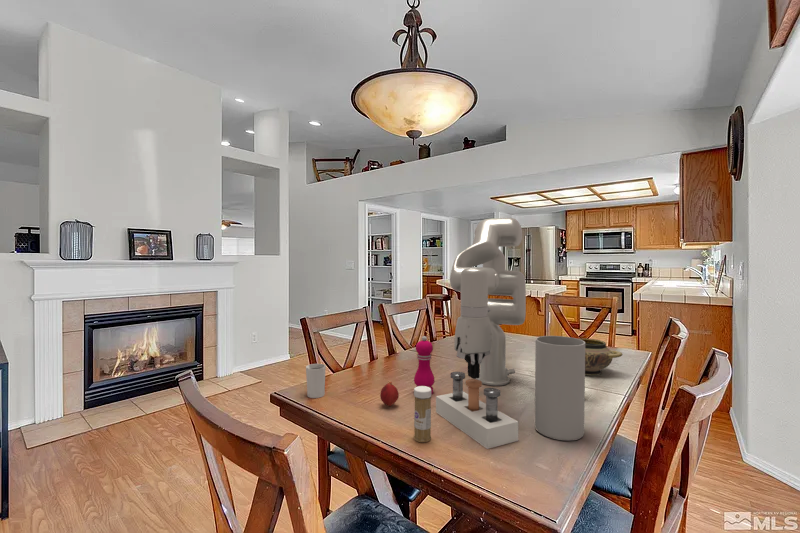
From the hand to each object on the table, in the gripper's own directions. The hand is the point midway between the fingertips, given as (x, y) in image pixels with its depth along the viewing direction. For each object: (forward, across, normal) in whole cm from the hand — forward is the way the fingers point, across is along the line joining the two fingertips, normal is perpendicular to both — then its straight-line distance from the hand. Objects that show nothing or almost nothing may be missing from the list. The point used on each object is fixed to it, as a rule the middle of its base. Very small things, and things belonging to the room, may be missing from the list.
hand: (473, 377), depth 109 cm
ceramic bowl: (+13, -73, -21) cm, 77 cm away
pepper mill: (+14, 0, -29) cm, 32 cm away
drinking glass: (+14, +35, -43) cm, 57 cm away
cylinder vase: (+14, -19, +13) cm, 27 cm away
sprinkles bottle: (+14, +17, +1) cm, 22 cm away
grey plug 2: (+9, 0, +8) cm, 12 cm away
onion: (+14, +16, -23) cm, 31 cm away
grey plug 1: (+9, 0, -8) cm, 12 cm away
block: (+14, 0, 0) cm, 14 cm away
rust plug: (+9, 0, 0) cm, 9 cm away
